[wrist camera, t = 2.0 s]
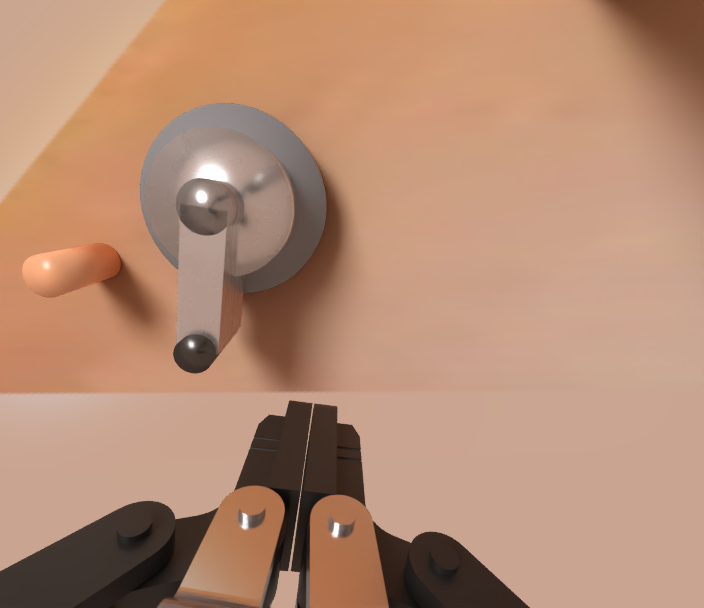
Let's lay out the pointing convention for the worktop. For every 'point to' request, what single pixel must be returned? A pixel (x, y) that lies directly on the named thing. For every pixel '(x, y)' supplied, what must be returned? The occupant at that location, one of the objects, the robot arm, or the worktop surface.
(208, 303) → the dial
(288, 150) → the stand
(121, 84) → the worktop surface
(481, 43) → the worktop surface
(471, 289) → the worktop surface
